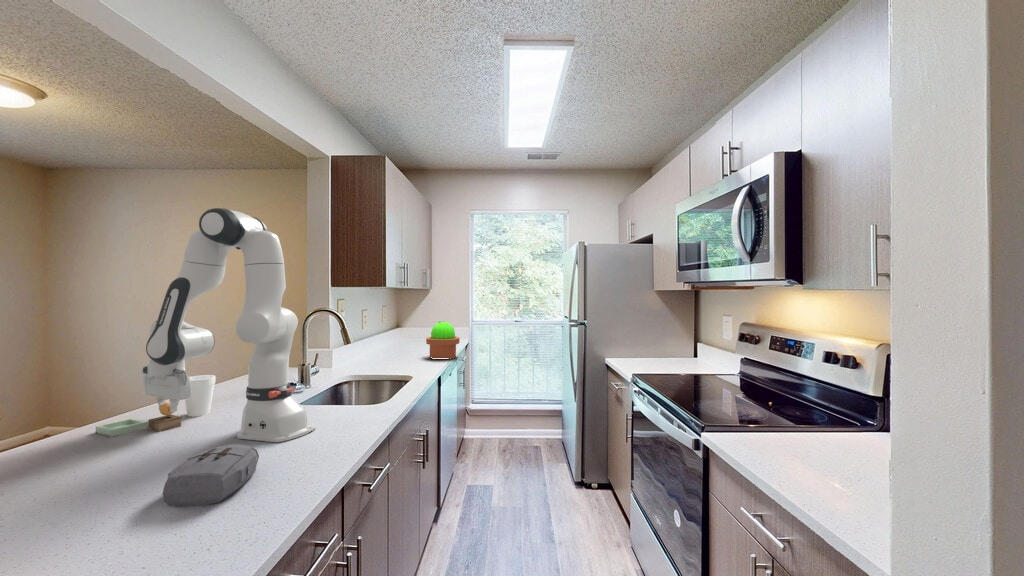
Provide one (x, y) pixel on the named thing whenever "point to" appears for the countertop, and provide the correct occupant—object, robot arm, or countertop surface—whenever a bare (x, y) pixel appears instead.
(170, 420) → the brown wooden box
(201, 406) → the foam cup
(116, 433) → the tray
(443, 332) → the potted cactus
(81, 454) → the countertop surface
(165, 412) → the ball
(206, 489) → the small grey backpack
